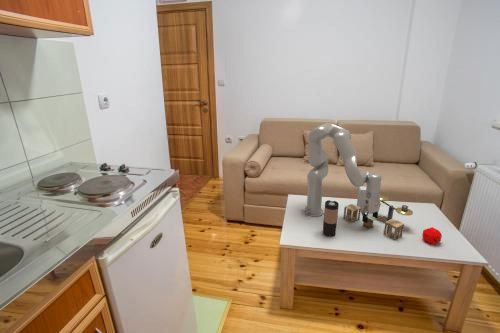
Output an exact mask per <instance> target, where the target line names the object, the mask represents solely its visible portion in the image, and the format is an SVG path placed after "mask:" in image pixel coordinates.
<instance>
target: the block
mask: <svg viewBox="0 0 500 333" xmlns="http://www.w3.org/2000/svg"><path fill="white" fill-rule="evenodd" d="M374 221H375V220H373V219H371V218H369V217H368V221H367V223H365V222H363V221H362V222H363V223H362V227H363V228H365V229H366V230H370V229H373V227H374V226H373V225H374Z"/></svg>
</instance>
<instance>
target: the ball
mask: <svg viewBox="0 0 500 333" xmlns="http://www.w3.org/2000/svg"><path fill="white" fill-rule="evenodd" d="M421 235H422V236H421V237H422V239H423V240H424V241H425V242H427V243H428V244H430V245H434V244H436V243H439V242H441V240H442V237H443V236H442V233H441V231H440V230H439V229H437V228H435V227H433V226H432V227H428V228H425V229H423V231H422V233H421Z"/></svg>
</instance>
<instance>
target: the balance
mask: <svg viewBox="0 0 500 333" xmlns="http://www.w3.org/2000/svg"><path fill="white" fill-rule="evenodd" d="M387 201H389V196H387V195H384V194H381V193H380V203H382V204H385V205H386V206H388V211H387V216H386V215H382V216H379V217H378V218H376V219H377V221H379V222H381V223H383V224H385V222H386V221H388V220H390V219H393V216H394V210H395V212H396V213H398V214H399V215H402V216H412V215H413V214H414V211H413V210H411V209H410V208H409V206H408V205H406V204H402V206H401V207H395V206H394V205H390V204H389V203H387ZM387 226H388V224H387ZM393 228H394V229H395V227H392V229H393Z"/></svg>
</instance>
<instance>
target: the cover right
mask: <svg viewBox="0 0 500 333" xmlns="http://www.w3.org/2000/svg"><path fill="white" fill-rule="evenodd" d="M387 224H388V225H387ZM404 226H405V223H404V222H401V221H399V220H397V219H395V218H392V219H390V220H388V221H386V222H385V223H384V229H383V235H384V236H386V234H387V237H388V238H389V237H390V238H391V237H392V234H393V233H394V234H393V239H392V240H394V241H396V239H400V238H402V236H403V233H404ZM393 227H395V228H394V232H393ZM392 232H393V233H392Z"/></svg>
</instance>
